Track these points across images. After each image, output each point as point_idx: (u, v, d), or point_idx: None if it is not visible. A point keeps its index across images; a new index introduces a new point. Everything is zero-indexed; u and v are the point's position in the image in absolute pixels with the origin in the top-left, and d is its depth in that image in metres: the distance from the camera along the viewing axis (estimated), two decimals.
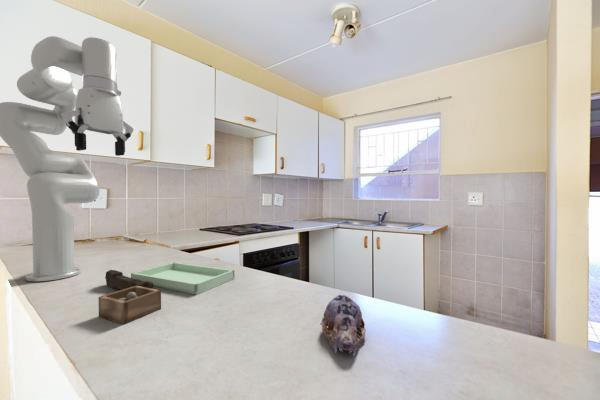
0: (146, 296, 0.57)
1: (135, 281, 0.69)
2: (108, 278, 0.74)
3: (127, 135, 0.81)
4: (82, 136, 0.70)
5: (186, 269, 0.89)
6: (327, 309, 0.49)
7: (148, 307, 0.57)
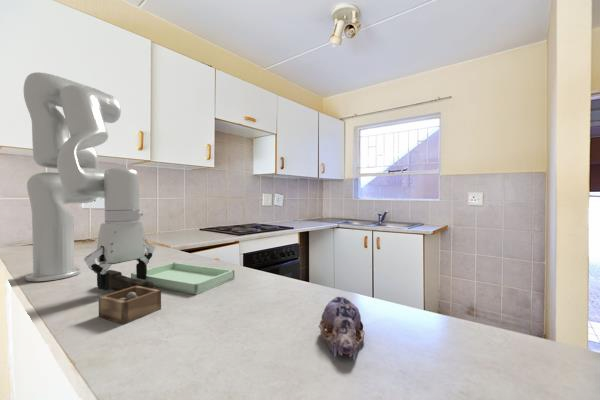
0: (146, 296, 0.57)
1: (135, 281, 0.69)
2: None
3: (149, 256, 0.77)
4: (105, 276, 0.66)
5: (186, 269, 0.89)
6: (325, 311, 0.48)
7: (148, 307, 0.57)
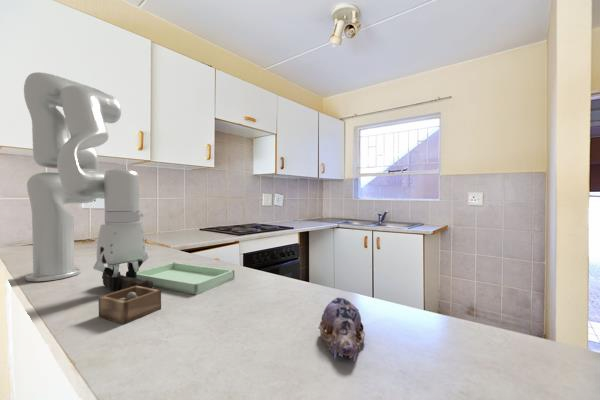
0: (146, 296, 0.57)
1: (134, 280, 0.69)
2: (105, 278, 0.74)
3: (139, 263, 0.75)
4: (117, 279, 0.69)
5: (186, 269, 0.89)
6: (325, 312, 0.47)
7: (148, 307, 0.57)
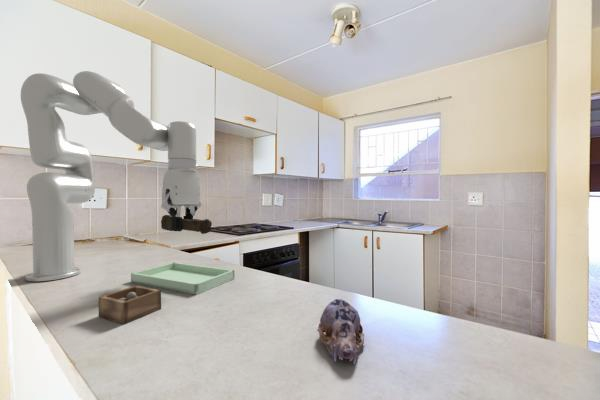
0: (146, 296, 0.57)
1: (195, 219, 0.77)
2: (165, 221, 0.82)
3: (194, 209, 0.83)
4: (179, 219, 0.78)
5: (186, 269, 0.89)
6: (324, 314, 0.46)
7: (148, 307, 0.57)
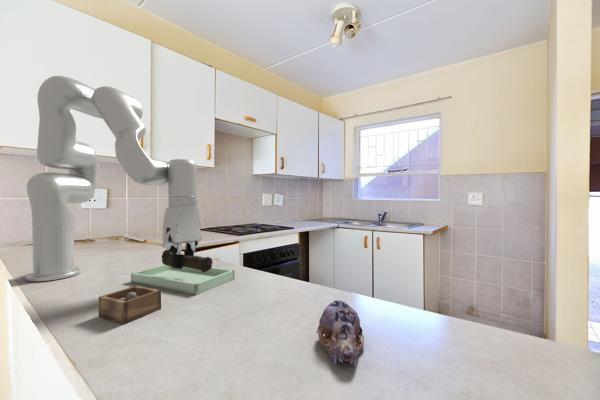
0: (146, 296, 0.57)
1: (196, 257, 0.77)
2: (166, 256, 0.82)
3: (195, 244, 0.84)
4: (180, 257, 0.78)
5: (186, 269, 0.89)
6: (323, 316, 0.46)
7: (148, 307, 0.57)
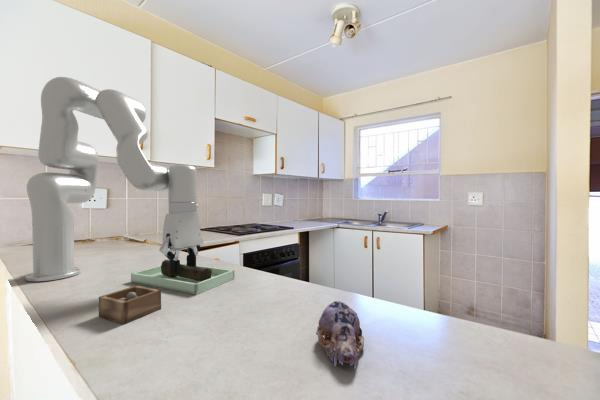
0: (146, 296, 0.57)
1: (195, 268, 0.77)
2: (165, 267, 0.82)
3: (197, 248, 0.84)
4: (177, 262, 0.77)
5: None
6: (323, 317, 0.45)
7: (148, 307, 0.57)
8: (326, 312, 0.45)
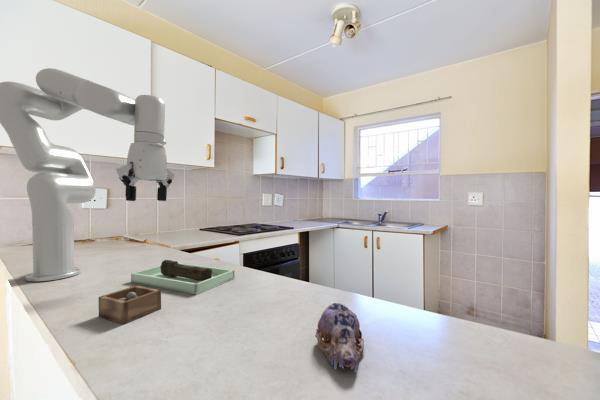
0: (146, 296, 0.57)
1: (196, 268, 0.78)
2: (165, 267, 0.82)
3: (169, 181, 0.86)
4: (133, 188, 0.75)
5: None
6: (322, 320, 0.44)
7: (148, 307, 0.57)
8: (325, 314, 0.45)
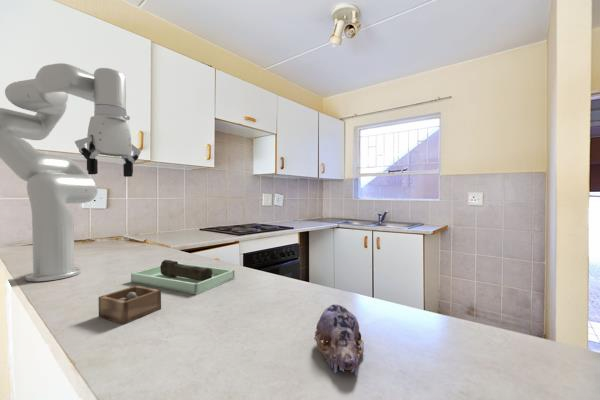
0: (146, 296, 0.57)
1: (196, 268, 0.78)
2: (165, 267, 0.82)
3: (135, 157, 0.85)
4: (94, 161, 0.74)
5: None
6: (321, 322, 0.44)
7: (148, 307, 0.57)
8: (324, 316, 0.44)
